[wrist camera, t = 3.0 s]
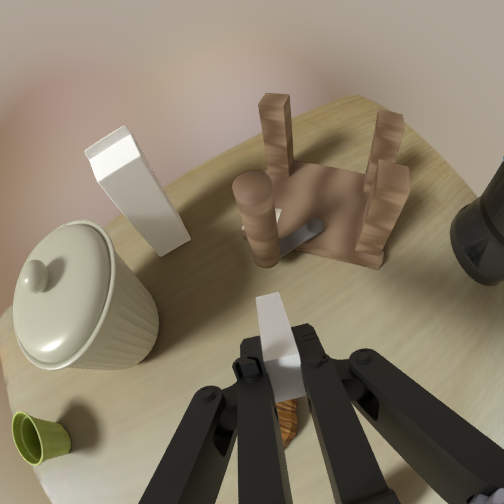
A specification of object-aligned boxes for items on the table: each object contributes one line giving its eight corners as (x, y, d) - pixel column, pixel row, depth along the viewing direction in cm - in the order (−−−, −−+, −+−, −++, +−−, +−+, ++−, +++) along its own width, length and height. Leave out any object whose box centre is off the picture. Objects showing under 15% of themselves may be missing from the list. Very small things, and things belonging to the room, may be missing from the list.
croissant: (278, 474, 26) (275, 486, 21) (228, 458, 28) (219, 467, 23) (313, 383, 31) (316, 383, 27) (263, 369, 33) (258, 366, 29)
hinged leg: (313, 216, 39) (316, 137, 26) (328, 233, 37) (340, 155, 25) (249, 255, 38) (225, 182, 25) (263, 274, 36) (244, 206, 23)
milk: (151, 232, 46) (82, 140, 27) (180, 215, 47) (122, 115, 28) (161, 258, 43) (82, 164, 24) (192, 240, 44) (128, 134, 25)
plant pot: (84, 464, 27) (48, 469, 19) (52, 460, 27) (18, 461, 19) (71, 414, 31) (35, 411, 24) (41, 414, 31) (7, 410, 24)
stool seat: (385, 189, 43) (407, 113, 29) (378, 269, 37) (417, 198, 22) (272, 167, 49) (262, 90, 35) (243, 238, 43) (217, 160, 28)
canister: (150, 406, 32) (33, 400, 13) (72, 350, 37) (-25, 309, 19) (198, 296, 39) (122, 210, 21) (115, 262, 44) (38, 188, 26)
